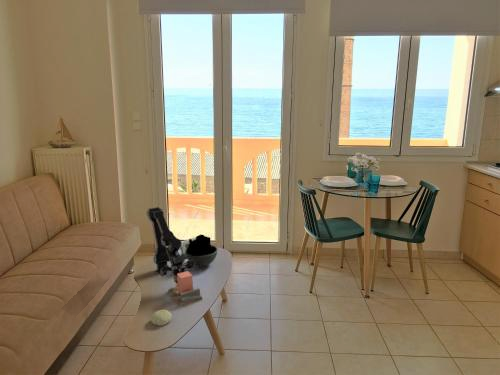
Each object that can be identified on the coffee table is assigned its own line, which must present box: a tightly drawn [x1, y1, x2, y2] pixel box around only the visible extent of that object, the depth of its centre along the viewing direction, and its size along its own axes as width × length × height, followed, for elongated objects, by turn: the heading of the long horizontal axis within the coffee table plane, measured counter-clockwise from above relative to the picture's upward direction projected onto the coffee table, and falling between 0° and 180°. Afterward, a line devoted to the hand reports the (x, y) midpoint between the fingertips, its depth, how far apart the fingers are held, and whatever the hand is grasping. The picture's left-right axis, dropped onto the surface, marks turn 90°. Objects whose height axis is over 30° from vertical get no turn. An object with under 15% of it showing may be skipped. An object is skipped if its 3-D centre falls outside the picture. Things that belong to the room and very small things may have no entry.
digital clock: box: [179, 236, 196, 255], centre depth 255 cm, size 16×9×11 cm, turn 122°
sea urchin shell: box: [150, 309, 173, 326], centre depth 179 cm, size 9×8×8 cm
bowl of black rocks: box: [185, 234, 218, 268], centre depth 237 cm, size 20×20×19 cm
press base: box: [167, 286, 203, 307], centre depth 201 cm, size 18×12×6 cm, turn 31°
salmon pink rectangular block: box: [176, 270, 194, 294], centre depth 199 cm, size 6×6×11 cm
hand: (182, 282), depth 202 cm, fingers closed, pressing on salmon pink rectangular block
